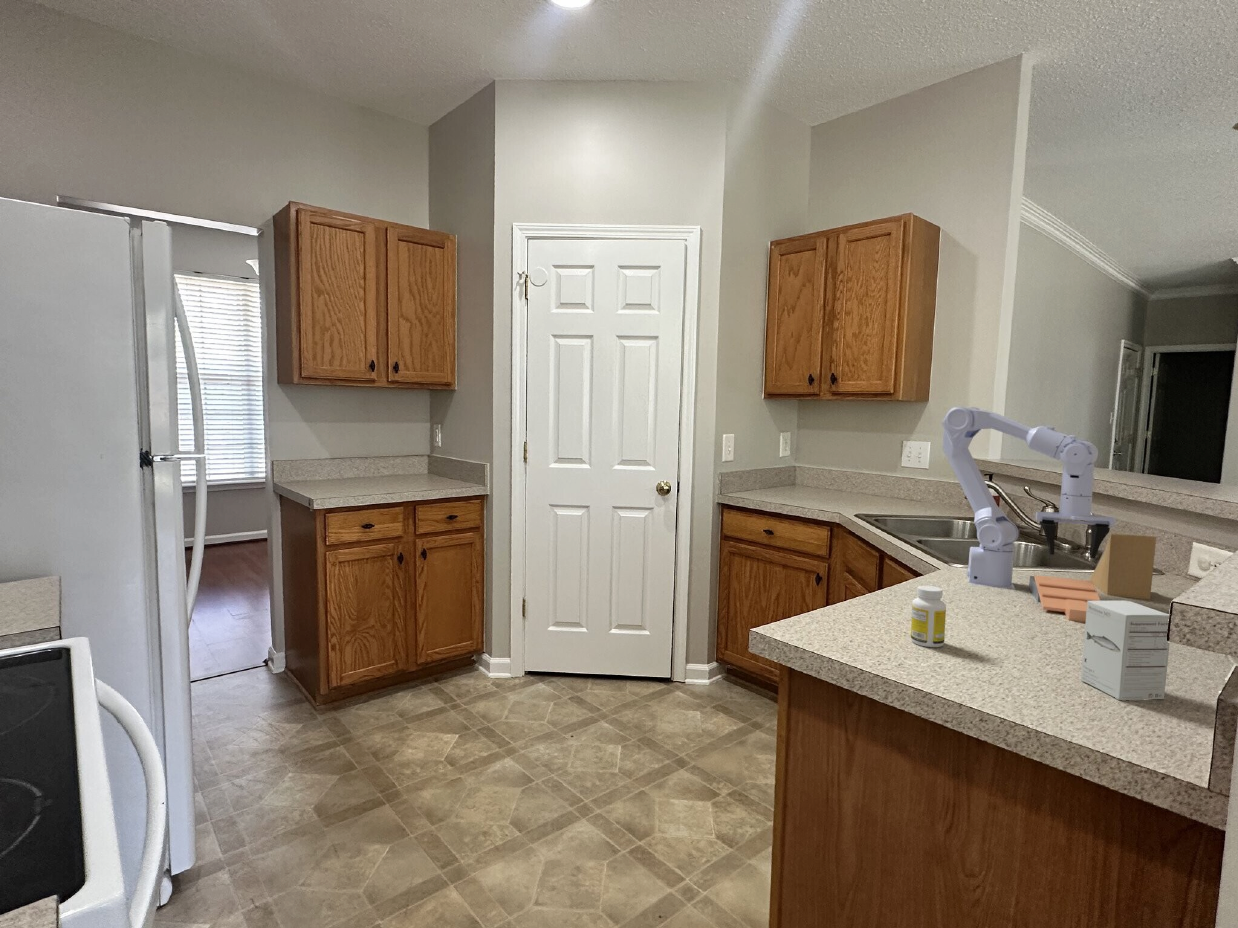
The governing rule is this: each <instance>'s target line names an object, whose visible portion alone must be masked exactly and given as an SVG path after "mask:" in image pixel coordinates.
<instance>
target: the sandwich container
mask: <svg viewBox="0 0 1238 928" xmlns="http://www.w3.org/2000/svg"><path fill="white" fill-rule="evenodd" d="M1156 544H1157V537H1156V536H1154V535H1147V534H1146V535H1144V534H1134V533H1133V534H1131V533H1130V534H1129V533H1111V534H1110V536H1109V539H1108V540H1107V542H1106V545H1105V548H1104V549H1103V552H1102V554H1101V555H1100V558H1099V559H1098V560H1099V561H1098V562H1097V564H1096V566H1095V568H1094V571H1093V573H1092V574H1091V577H1090V578H1089V580H1088V581H1092V582H1093V584H1094V587H1095V588H1097V589H1098V590H1099V591H1101V592H1102V593H1104V594H1105V595H1106V596H1113V597H1114V596H1115V597H1125V598H1126V597H1127V598H1136V599H1144V600H1145V599H1146V600H1150V599H1151V595H1152V594H1151V593H1152V584H1153V582H1152V581H1153V576H1154V575H1153V574H1154V573H1153V572H1154V566H1155V565H1154V564H1155V552H1156V546H1157V545H1156Z"/></svg>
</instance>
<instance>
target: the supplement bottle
mask: <svg viewBox="0 0 1238 928" xmlns="http://www.w3.org/2000/svg"><path fill="white" fill-rule="evenodd" d="M916 595H917V598H914V599H913V601H912V604H911V623H910V626H911V627H910V640H911V642H912V643H913V644H915V645H918V646H922V647H925V648H926V647H927V648H941V647H943V646H944V645H945V638H946V637H945V635H946V634H945V631H946V612H947V605H946V604H945V602H944V601H943V600H941V599H942V598H943V589H942V588H941V587H938V586H934V585H918V587H917V589H916Z"/></svg>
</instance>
